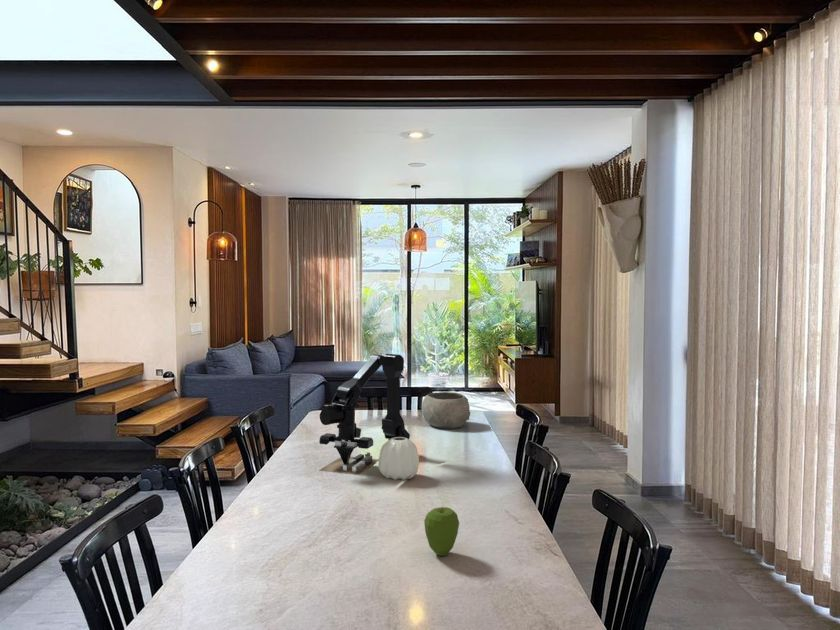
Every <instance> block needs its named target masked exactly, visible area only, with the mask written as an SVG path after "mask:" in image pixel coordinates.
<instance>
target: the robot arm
mask: <svg viewBox="0 0 840 630" xmlns="http://www.w3.org/2000/svg"><path fill="white" fill-rule="evenodd" d="M404 366H405V359H404V356H402V355H401V354H396V353H385V354H384V355H382V354H376V353H375V354H374V353H373V354H371V355H370V356H369V359H368V360H367V361H366V362H365V364H364V365H363V366H362V367H361V368H360V369H359V370H358V371H357V373H356V374H355V375H354V376H353V377H352V378H351V379H348V380H347V381H344V382H343V383H342V384H341V385H339V386H338V388H337V390H336V392H335V394H334V395H333V398H332V400H331V401H330V403H329V404H324V405H323V408H322V409H321V410H320V413H319V421H320V422H321V424H322V425H323V426H329V425H334V424H335V425H336V424H337V425H336V428H337V429H338V434H336V433H330V432H329V433H324V434H322V435H320V437H319V438H318V440H319V442H318V443H319V444H320V445H328V444H329V443H334V445H333V448H335V449H336V451H337V452H338V454H339V456H340V457H341V459H342V461H343V463H344V464H346V463H347V462H348V461H349V459H350V457H352V453H353V452H354V449H356V448H359V449H365V450H368V449H370V448H371V447H373V446H374V439H373V438H372V437H368V436H362V437H361V435H362V428H359V427H357V422H356V409H358V408H361V407H360V406H361V405H360V404H358V403H357V401H358V400H359V398H360V397H361V394H362V390H363V388H364V387H365V385H366V384H367V382H369V380H370V379H371V378H372V377H373V376H374V374H375V373H376V372H377V371H378V370H379V369H380V367H382V371H383V373H384V374H385V378H386V415H385V417H384V418H382V419H381V430H382V433H383V435H384V438H385V439H387V441H388V440H390V439H391V438H394V437H404V438H407V439H409V440H410V438H411V437H410V436H411V434H410V432H409V431H407V429H406V427H405V420H404V418H403V416H402V415H401V405H400V404H401V402H400V397H401V396H400V395H401V394H400V392H401V390H400V389H401V388H400V387H401V386H400V381H401V380H400V376H401V375H402V374H403V372H404Z"/></svg>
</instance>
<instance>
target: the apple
mask: <svg viewBox="0 0 840 630" xmlns="http://www.w3.org/2000/svg"><path fill="white" fill-rule="evenodd" d="M423 524H424V532H425V536H426V538H427V539H426V540H427V543H428V545H429V548H430V549H431V551H433V552H434V554H436V556H439V557H444V556H445V557H446V556H447V555H448V554H449V553H450V551H451V550H452V549H453V548H454V545H455V542H456V539H457V537H458V534H459V533H458V532H459V527H460V521H459V517H458V514H457V512H456V511H454V510H453V509H452V508H450V507H447V506H443V507H442V506H440V507H434V508H433V509H431V510H429V511H428V512H427V514H426V515H425V518H424V520H423Z"/></svg>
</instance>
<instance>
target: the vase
mask: <svg viewBox="0 0 840 630" xmlns="http://www.w3.org/2000/svg"><path fill="white" fill-rule="evenodd" d="M419 458H420V457H419V451H418V447H417V446H416V444H415V443H414V442H413V441H412V440H411V439H410V438H409V439H407V438H404V437H394V438H391V439H390V440H388V439H387V441H386V442H385V443H384V444H382V446H381V449H380V451H379V456H378V470H379V471H380V473H381V475H382V476H383V477H385V478H386V479H393V480H396V481H397V480H402V481H404V480H405V481H406V480H411V479H412V478H413V477H415V475H416V474H417V473H418V471H419V466H420V459H419Z"/></svg>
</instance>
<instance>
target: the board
mask: <svg viewBox="0 0 840 630" xmlns="http://www.w3.org/2000/svg"><path fill="white" fill-rule="evenodd" d="M354 457H355V456H350V459H349V461H351V460H352V459H353V458H354ZM349 461H348V462H349ZM377 462H379V458H378V459H375V458H372V462H371V463H370V464H368V465H367V466H365V467H363V468H362V469H360V470H359V471H358V472H356V473H354V472H352V468H351V469H349V470H348V471H343V465H344V463H343V461H342V459H341V456H340V457H339V458H337V459H335V460H334V461H332V462H330V463H329V464H327V465H325V466H323V467H322V468H320V469H319V470H318V471H319V472H327V473H328V472H329V473H338V474H346V475H353V476H354V475H355V476H356V475H357V476H359V475H360V474H361V473H363V472H364V471H365V470H367V469H369V468H370V467H371V466H373V465H375V464H376V463H377Z"/></svg>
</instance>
